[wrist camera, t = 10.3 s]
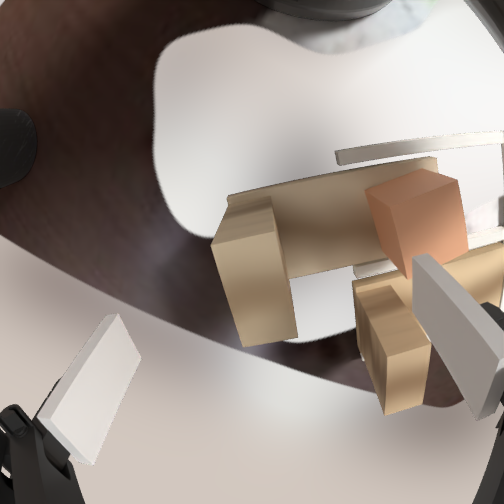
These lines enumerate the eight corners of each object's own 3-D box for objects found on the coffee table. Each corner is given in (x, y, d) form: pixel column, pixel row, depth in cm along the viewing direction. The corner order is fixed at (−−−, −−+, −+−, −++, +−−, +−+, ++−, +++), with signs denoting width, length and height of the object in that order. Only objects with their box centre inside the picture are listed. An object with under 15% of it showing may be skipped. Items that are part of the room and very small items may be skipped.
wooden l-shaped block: (351, 280, 25) (387, 350, 17) (499, 241, 23) (560, 283, 15) (357, 345, 28) (383, 419, 19) (492, 303, 26) (540, 352, 17)
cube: (364, 190, 21) (390, 207, 17) (421, 168, 20) (457, 179, 16) (382, 251, 23) (407, 280, 18) (435, 228, 22) (468, 251, 17)
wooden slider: (228, 195, 23) (207, 235, 14) (429, 156, 21) (503, 175, 13) (251, 279, 25) (245, 354, 17) (435, 238, 24) (497, 288, 15)
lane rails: (334, 151, 22) (337, 151, 21) (506, 130, 20) (513, 131, 19) (360, 354, 28) (362, 360, 27) (500, 308, 26) (505, 313, 25)
